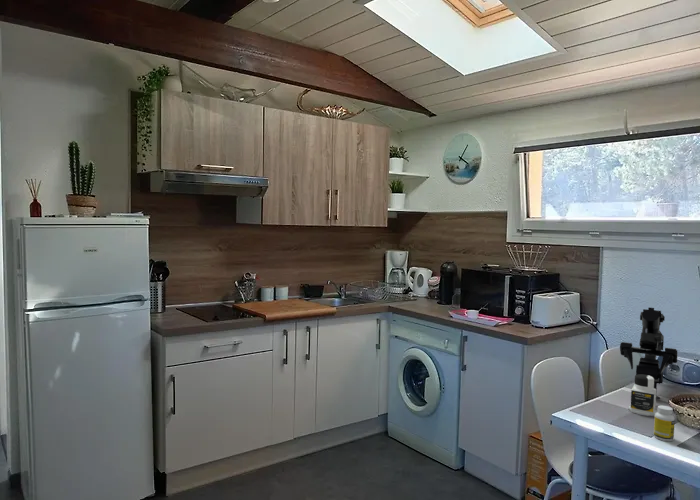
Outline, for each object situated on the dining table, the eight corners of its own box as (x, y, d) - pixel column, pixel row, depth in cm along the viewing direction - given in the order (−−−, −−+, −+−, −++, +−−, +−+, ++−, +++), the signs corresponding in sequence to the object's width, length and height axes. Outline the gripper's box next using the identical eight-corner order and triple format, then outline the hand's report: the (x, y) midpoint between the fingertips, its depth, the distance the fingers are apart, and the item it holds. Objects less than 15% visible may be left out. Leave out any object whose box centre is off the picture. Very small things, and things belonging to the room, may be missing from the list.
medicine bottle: (630, 408, 182) (631, 375, 181) (633, 403, 188) (634, 371, 187) (653, 413, 178) (654, 379, 177) (655, 408, 183) (657, 375, 183)
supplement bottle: (673, 443, 155) (675, 411, 155) (653, 439, 158) (654, 408, 158) (673, 437, 160) (675, 406, 159) (653, 433, 163) (655, 403, 162)
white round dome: (623, 406, 187) (623, 403, 187) (648, 407, 187) (648, 404, 187) (636, 415, 178) (636, 412, 178) (662, 416, 178) (662, 413, 178)
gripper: (621, 321, 197) (616, 354, 188) (678, 327, 186) (675, 363, 178) (623, 338, 204) (618, 371, 195) (678, 345, 193) (675, 380, 185)
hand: (645, 371), depth 188 cm, fingers open, 9 cm apart
